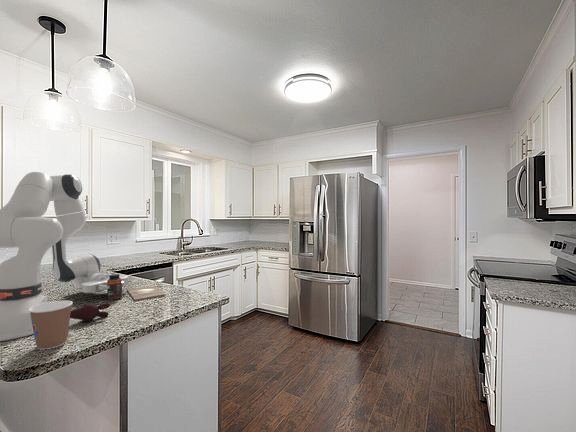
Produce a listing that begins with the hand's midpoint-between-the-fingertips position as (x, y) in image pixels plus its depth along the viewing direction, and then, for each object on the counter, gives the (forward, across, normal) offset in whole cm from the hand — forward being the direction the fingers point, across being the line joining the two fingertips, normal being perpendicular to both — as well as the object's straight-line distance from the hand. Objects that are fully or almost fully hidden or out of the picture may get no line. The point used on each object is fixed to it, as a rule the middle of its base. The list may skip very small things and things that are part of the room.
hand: (115, 285), depth 133 cm
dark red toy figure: (+18, -22, +6) cm, 29 cm away
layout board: (+5, +12, +6) cm, 14 cm away
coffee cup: (+29, -38, +6) cm, 48 cm away
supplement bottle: (-1, 0, +6) cm, 6 cm away
